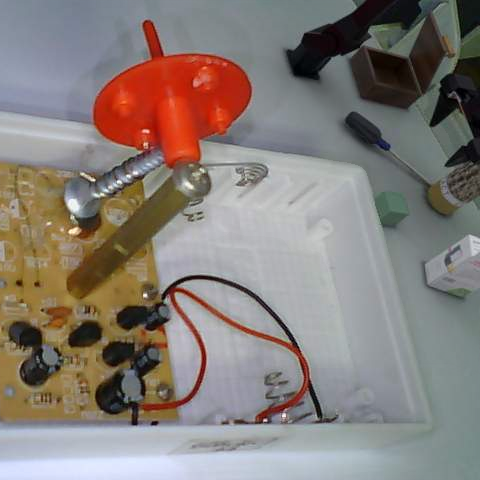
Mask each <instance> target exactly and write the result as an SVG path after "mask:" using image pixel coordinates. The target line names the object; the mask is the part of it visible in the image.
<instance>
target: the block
mask: <svg viewBox="0 0 480 480" xmlns="http://www.w3.org/2000/svg"><path fill="white" fill-rule="evenodd" d="M373 199H374V201H375V206H376V209H377V213H378V216H379V219H380V222H381V224H380V225H383V226H389V227H395V226H396V225H398V224H400V223H401V222H402V221H403V220H404V219H406V218H407V217H408V216H409V215H410V210H409V207H408V203H407V201H406V197H405V194H404V193H403V192H397V191H392V190H386V189H384V190H383V191H381V192H380V193H379V194H378V195H376V196H375V197H374V198H373Z"/></svg>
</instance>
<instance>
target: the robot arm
mask: <svg viewBox="0 0 480 480" xmlns="http://www.w3.org/2000/svg"><path fill="white" fill-rule="evenodd" d="M399 1H400V0H364V1H363V2H362V3H361V4H360V5H359V6H358V7H356V8H355V9H354V10H353V11H351V12H350V13H349V14H346V15H345V16H343V17H341V18H340V19H338V20H336V21H334V22H331V23H329V22H328V23H326V24H324V25H323V24H322V25H320V26H319V27H315V28H313V29H311V30H308V31H305V32H303V34H302V37H301V41H300V43H299V44H298V45H297V46H296V47H295V48H294V49H287V50H286V56H287V58H288V61H289V65H290V69H291V71H292V74H293V75H294V76H296V77H301V78H306V79H312V80H317V81H318V80H320V79H321V76H320V72H321V71H322V70H323V69H324V68H325V67H326V66H327V64H328V63H329V62H330V61H331V60H332V58H336V57H337V56H340V57H343V56H347V55H348V54H351V53H353V52H355V51H358V50H359V49H360V48H361V47H362V46H363V45H364V44H365V42H366V41H369V40H371V38H373V36H372V35H371V34H370V33H369V30H370V29H371V26H372V25H373V24H374V23H375V22H376V21H377V20H379V19H380V18H381V17H382V16H384V15H385V14H386V13H387V12H388V11H389V10H390V9H391V8H393V7H394V6H395V5H396V4H397V3H399ZM439 85H440V87H439V89H438V91H439V93H438V96H437V100H436V103H435V107H434V111H433V113H432V116H431V118H430V121H429V123H428V126H429V128H436V127H437V126H438V125H440V124H441V123H442V122H443V121H444V120H446V119H447V118H448V117H449V116H450V115H452V113H454V112H455V111H456V110H458V109H460V110H461V112H462V114H463V118H464V119H465V121H466V123H467V124H468V125H467V126H468V127H469V130H470V132H471V134H472V137H473V138H472V139H470V140H469V141H467V143H466V145H464V144H463V145H461V146H460V147H459V148H458V149H457V150H456V152H454V153H453V154H452V155H451V156H450V158H448V160H447V161H446V162H445V163H444V165H443V166H444V168H453V167H456V166H460V165H462V164H464V163H466V162H470V161H471V162H472V163H473V164H476V165H480V84H479V85H478V86H477V87H476V86H475V83H474V81H473V78H472V77H471V76H467V75H463V74H460V73H455V72H449V73H447V74H445V75H444V76H443V77H442V78H441V79H440V80H439Z"/></svg>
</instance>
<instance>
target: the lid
mask: <svg viewBox="0 0 480 480" xmlns="http://www.w3.org/2000/svg"><path fill="white" fill-rule="evenodd" d="M408 57H409V60H410V63H411V66H412V69H413V71H414V74H415V77H416V80H417V83H418V86H419V89H420V91H421V94H422V95H426V93H427V91H428V89H429V87H430V85H431V83H432V81H433V80H434V77H435V76H436V73H437V71H438V69H439V68H440V66H441V64H442V62H443V60H444V58H446V57H447V58H448V59H453V58H454V57H456V52H455V48H454V46H453V44H452V41H451V39H450V36H449V34H443V35H442V34H441V31H440V28H439V25H438V23H437V20H436V18H435V14H434V13H433V11H432V10H429V11H428V12H427V14H426V16H425V19H424V21H423V24H422V25H421V28H420V29H419V32H418V35H417V36H416V39H415V40H414V43H413V46H412V47H411V49H410V51H409V54H408Z"/></svg>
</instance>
